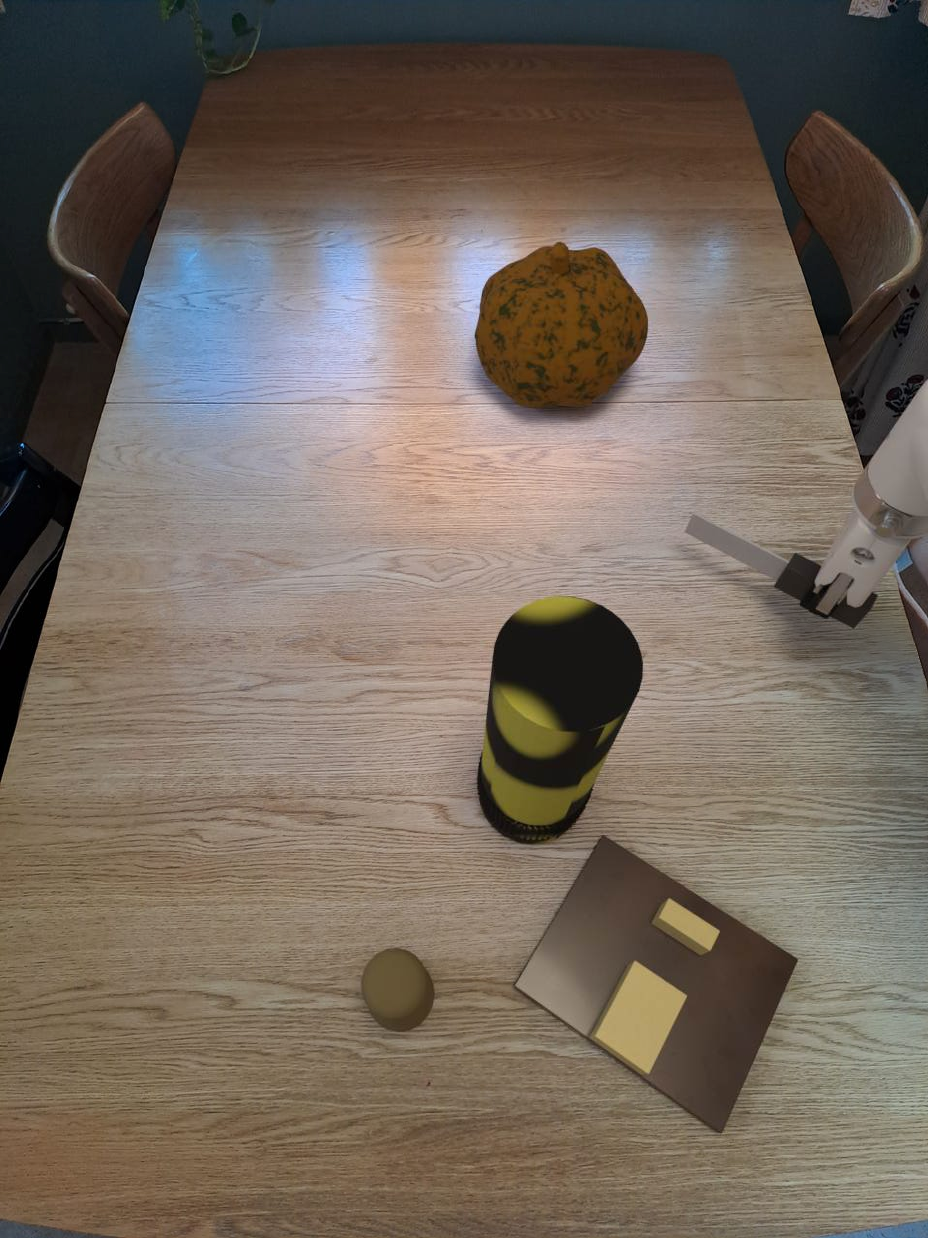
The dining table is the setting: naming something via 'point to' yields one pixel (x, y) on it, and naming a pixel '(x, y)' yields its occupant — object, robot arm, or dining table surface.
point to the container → (553, 713)
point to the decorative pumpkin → (559, 327)
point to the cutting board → (714, 982)
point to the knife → (774, 566)
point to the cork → (397, 990)
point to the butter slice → (685, 927)
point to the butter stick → (638, 1017)
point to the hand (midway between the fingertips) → (819, 599)
